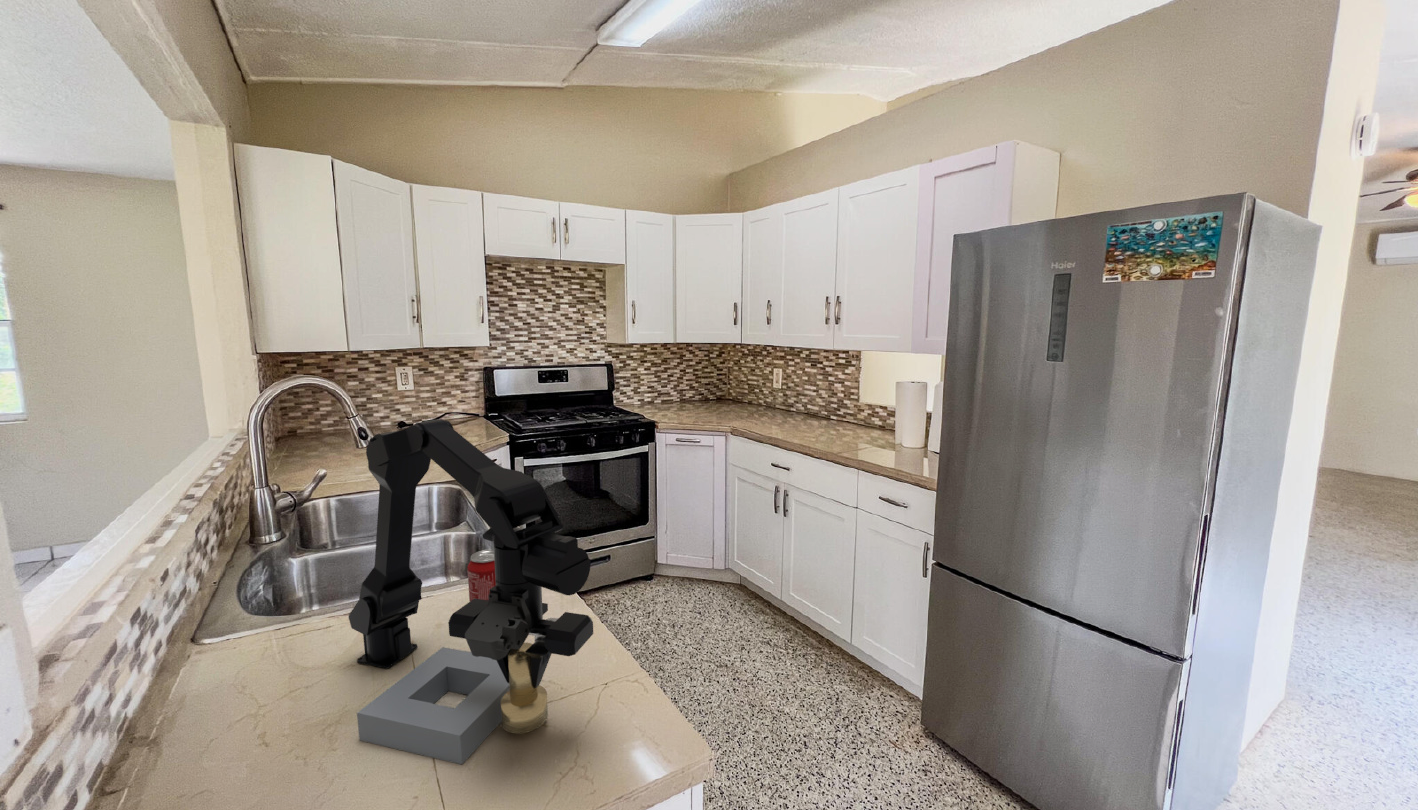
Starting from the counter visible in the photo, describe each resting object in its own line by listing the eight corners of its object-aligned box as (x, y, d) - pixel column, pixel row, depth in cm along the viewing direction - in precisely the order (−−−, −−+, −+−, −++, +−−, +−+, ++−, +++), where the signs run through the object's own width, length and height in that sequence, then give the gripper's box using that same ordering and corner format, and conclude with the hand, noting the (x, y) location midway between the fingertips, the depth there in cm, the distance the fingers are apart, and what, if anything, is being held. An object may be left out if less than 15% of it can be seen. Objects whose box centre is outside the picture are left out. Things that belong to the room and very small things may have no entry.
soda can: (495, 626, 104) (492, 563, 103) (462, 622, 106) (458, 560, 104) (515, 608, 111) (512, 549, 109) (484, 604, 112) (480, 546, 111)
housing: (359, 740, 76) (356, 712, 75) (444, 670, 91) (442, 647, 91) (461, 764, 72) (459, 735, 71) (532, 686, 87) (531, 662, 86)
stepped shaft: (492, 728, 76) (488, 659, 75) (518, 700, 82) (515, 635, 80) (532, 737, 74) (528, 666, 73) (556, 707, 80) (553, 641, 79)
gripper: (413, 593, 70) (422, 710, 72) (549, 614, 65) (554, 738, 67) (473, 558, 81) (479, 660, 83) (593, 573, 76) (596, 681, 78)
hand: (523, 683), depth 77 cm, fingers closed on stepped shaft, 4 cm apart
